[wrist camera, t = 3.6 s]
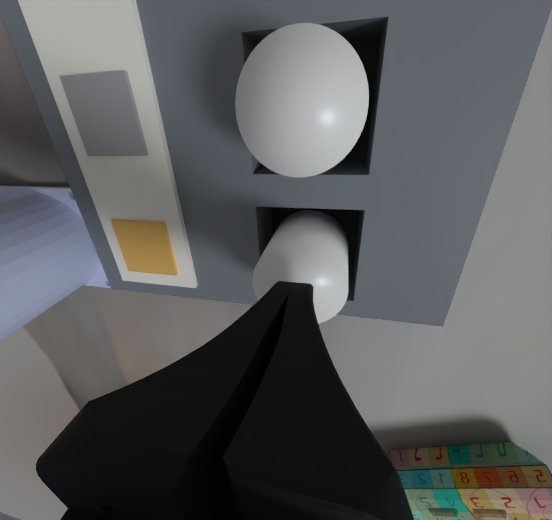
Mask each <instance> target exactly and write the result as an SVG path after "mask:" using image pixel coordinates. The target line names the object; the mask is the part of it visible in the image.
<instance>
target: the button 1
mask: <svg viewBox="0 0 552 520" xmlns="http://www.w3.org/2000/svg"><path fill="white" fill-rule="evenodd" d="M252 281H253V289H254V292H255V295H256V297H257V299H258V300H260V299H261V298H262V297H263V296H264V295H265V294H266V293H267V292H268V290H269V289H270V288H271V287H272V286H273V285H274V284H275V283H276V282H278V281H287V282H297V283H308V284H311V285H312V286H313V287H314V288H313V303H314V309H315V314H316V318H317V322H318V323H322V322H324V321H327V320H329V319H331V318H332V317H334V316H335V315H336V314H337V313H339V312H340V310H341V309H342V308H343V306H344V304H345V303H346V300H347V296H348V239H347V235H346V233H345V231H344V229H343V227H342V226H341V225H340V224H339V222H338V221H336V220H335V219H334V218H333V217H331V216H330V215H328V214H326V213H323V212H319V211H314V210H304V211H299V212H296V213H293V214H291V215H289V216H288V217H286V218H285V219H284V220H283V221H282V222H281V223H280V225H279V226H278V228H277V229H276V231H275V233H274V235H273V236H272V238H271V240H270V242H269V243H268V245H267V247H266V249H265V250H264V252H263V254H262V256H261V257H260V259H259V261H258V263H257V265H256V267H255V269H254V272H253V278H252Z"/></svg>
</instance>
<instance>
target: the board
mask: <svg viewBox="0 0 552 520" xmlns="http://www.w3.org/2000/svg"><path fill="white" fill-rule="evenodd" d="M551 8H552V0H0V16H1V18H2V21H3V23H4V25H5V28H6V30H7V33H8V35H9V38H10V40H11V43H12V45H13V48H14V50H15V53H16V55H17V57H18V60H19V62H20V65H21V67H22V70H23V72H24V75H25V77H26V80H27V82H28V85H29V87H30V89H31V92H32V94H33V97H34V99H35V102H36V104H37V107H38V109H39V112H40V114H41V117H42V119H43V121H44V124H45V126H46V129H47V131H48V134H49V136H50V139H51V141H52V144H53V146H54V149H55V151H56V154H57V156H58V158H59V161H60V163H61V166H62V168H63V171H64V173H65V176H66V178H67V181H68V183H69V186H70V188H71V190H72V193H73V195H74V198H75V200H76V203H77V205H78V208H79V210H80V213H81V215H82V218H83V220H84V222H85V225H86V227H87V230H88V232H89V235H90V237H91V240H92V242H93V245H94V247H95V250H96V252H97V254H98V257H99V259H100V262H101V264H102V267H103V269H104V272H105V274H106V277H107V279H108V282H109V284H110V286H111V289H119V290H128V291H136V292H145V293H154V294H163V295H172V296H180V297H189V298H198V299H207V300H216V301H225V302H233V303H242V304H251V305H254V304H255V303H256V302H258V301H259V300H258V299H257V297H256V295H255V292H254V289H253V281H252V278H253V272H254V269H255V267H256V265H257V263H258V261H259V259H260V257H261V256H262V254H263V252H264V250H265V249H266V247H267V245H268V243H269V242H270V240H271V238H272V236H273V229H272V209H271V207H285V208H315V209H345V210H360V212H359V221H358V229H357V238H356V247H355V256H354V265H353V272H349V271H348V296H347V300H346V303H345V304H344V306H343V308H342V309H341V310H340V312H339V313H337V314H339V315H348V316H357V317H365V318H374V319H383V320H392V321H401V322H409V323H418V324H427V325H436V326H443V325H444V322H445V319H446V316H447V313H448V310H449V307H450V304H451V301H452V298H453V296H454V293H455V290H456V287H457V284H458V281H459V278H460V275H461V272H462V269H463V266H464V263H465V260H466V257H467V254H468V252H469V249H470V246H471V243H472V240H473V237H474V234H475V231H476V228H477V225H478V222H479V219H480V216H481V213H482V211H483V208H484V205H485V202H486V199H487V196H488V193H489V190H490V187H491V184H492V181H493V178H494V175H495V172H496V170H497V167H498V164H499V161H500V158H501V155H502V152H503V149H504V146H505V143H506V140H507V137H508V134H509V131H510V128H511V126H512V123H513V120H514V117H515V114H516V111H517V108H518V105H519V102H520V99H521V96H522V93H523V90H524V87H525V85H526V82H527V79H528V76H529V73H530V70H531V67H532V64H533V61H534V58H535V55H536V52H537V49H538V46H539V43H540V41H541V38H542V35H543V32H544V29H545V26H546V23H547V20H548V17H549V14H550V11H551ZM296 23H313V24H319V25H322V26H325V27H328V28H330V29H332V30H334V31H336V32H337V33H338V34H340V35H341V36H342V37H344V38H345V39H354V38H365V37H375V36H379V44H378V53H377V62H376V71H375V79H374V88H373V97H372V106H371V115H370V124H369V132H368V141H367V150H366V159H365V162H339V163H338V164H337V165H335V166H334V167H332V168H331V169H329V170H327V171H325V172H323V173H320V174H317V175H314V176H310V177H300V178H298V177H289V176H284V175H281V174H278V173H276V172H274V171H272V170H270V169H268V168H267V167H265V166H264V165H263V164H261V163H260V162H259V161H258V160H257V159H256V158H255V157H254V156H253V154H252V153H251V152H250V150H249V149H248V147H247V146H246V144H245V142H244V140H243V138H242V136H241V133H240V130H239V127H238V123H237V118H236V109H235V99H236V89H237V84H238V80H239V77H240V73H241V71H242V68H243V66H244V64H245V62H246V60H247V59H248V57H249V55H250V54H251V52H252V51H253V50H254V48H255V47H256V46H257V45H258V44H259V43H260V42H261V41H262V40H263V39H264V38H265V37H267V36H268V35H269V34H271V33H272V32H274V31H276V30H278V29H279V28H282V27H285V26H287V25H291V24H296Z"/></svg>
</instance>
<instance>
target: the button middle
mask: <svg viewBox="0 0 552 520" xmlns="http://www.w3.org/2000/svg"><path fill="white" fill-rule="evenodd" d="M368 106H369V89H368V81H367V76H366V73H365V70H364V67H363V64H362V62H361V60H360V58H359V56H358V54H357V53H356V51H355V50H354V48H353V47H352V45H351V44H350V43H349V42H348V41H347V40H346V39H345V38H344V37H342V36H341V35H340V34H338V33H337V32H336V31H334V30H332V29H330V28H328V27H325V26H322V25H319V24H313V23H296V24H291V25H287V26H285V27H282V28H279V29H278V30H276V31H274V32H272V33H271V34H269V35H268V36H267V37H265V38H264V39H263V40H262V41H261V42H260V43H259V44H258V45H257V46H256V47H255V48H254V50H253V51H252V52H251V54H250V55H249V57H248V59H247V60H246V62H245V64H244V66H243V68H242V71H241V73H240V77H239V80H238V84H237V89H236V99H235V109H236V118H237V123H238V127H239V130H240V133H241V136H242V138H243V140H244V142H245V144H246V146H247V147H248V149H249V150H250V152H251V153H252V154H253V156H254V157H255V158H256V159H257V160H258V161H259V162H260V163H261V164H263V165H264V166H265V167H267V168H268V169H270V170H272V171H274V172H276V173H278V174H281V175H284V176H289V177H298V178H300V177H310V176H314V175H317V174H320V173H323V172H325V171H327V170H329V169H331V168H332V167H334V166H335V165H337V164H338V163H339V162H340V161H341V160H343V159H344V158H345V157H346V156H347V154H348V153H349V152H350V151H351V150H352V148H353V147H354V145H355V144H356V142H357V140H358V139H359V137H360V135H361V132H362V130H363V128H364V124H365V121H366V118H367V112H368Z"/></svg>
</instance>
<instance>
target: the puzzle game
mask: <svg viewBox="0 0 552 520" xmlns="http://www.w3.org/2000/svg"><path fill="white" fill-rule="evenodd" d="M387 456H388V458H389V459H390V461H391V462H392V463H393V465H394V466H395V468H396V470H397V472H398V475H399V477H400V480H401V483H402V485H403V488H404V491H405V493H406V496H407V499H408V502H409V505H410V508H411V511H412V514H413V518H414V520H552V474H551V472H550V470H549V469H548V467H547V465H545V464H544V463H543V462H541V461H540V460H539V459H537V458H536V457H535V456H533V455H532V454H530V453H529V452H527V451H525V450H524V449H522V448H520V447H519V446H517V445H516V444H514V443H512V442H501V443H486V444H472V445H458V446H444V447H430V448H416V449H402V450H391V451H390V453H389V454H388V455H387Z"/></svg>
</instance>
